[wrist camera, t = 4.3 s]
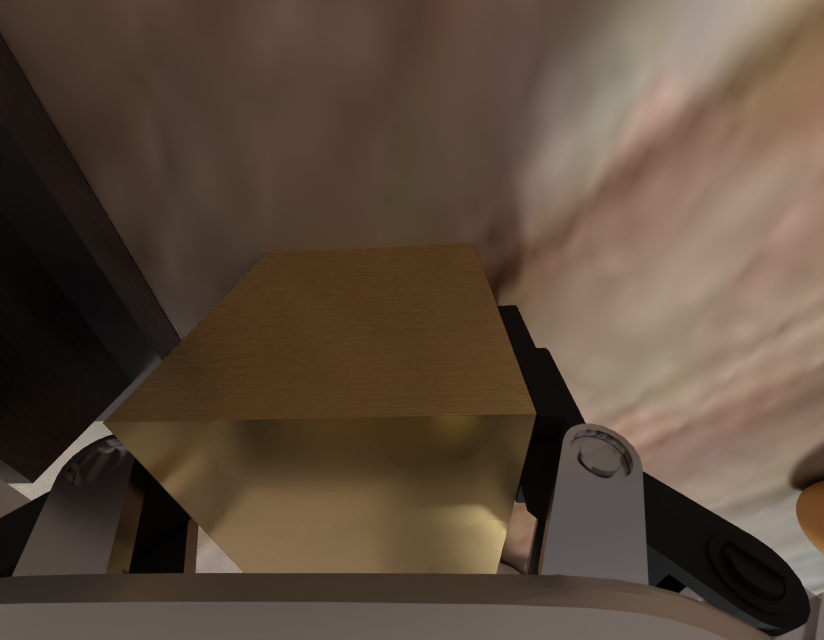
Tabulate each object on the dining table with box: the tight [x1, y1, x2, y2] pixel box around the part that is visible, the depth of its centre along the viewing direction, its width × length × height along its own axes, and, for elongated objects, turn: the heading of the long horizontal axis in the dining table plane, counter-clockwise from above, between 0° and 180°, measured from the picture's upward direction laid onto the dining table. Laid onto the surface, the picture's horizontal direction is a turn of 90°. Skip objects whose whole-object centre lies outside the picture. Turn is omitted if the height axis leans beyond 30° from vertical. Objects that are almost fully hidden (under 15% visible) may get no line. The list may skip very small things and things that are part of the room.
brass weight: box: [103, 244, 536, 574], centre depth 9 cm, size 6×6×6 cm
